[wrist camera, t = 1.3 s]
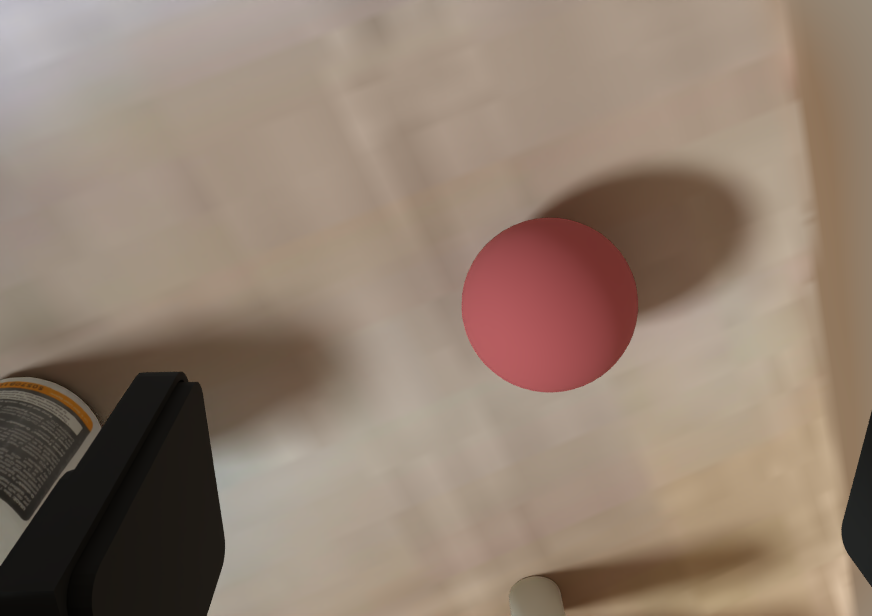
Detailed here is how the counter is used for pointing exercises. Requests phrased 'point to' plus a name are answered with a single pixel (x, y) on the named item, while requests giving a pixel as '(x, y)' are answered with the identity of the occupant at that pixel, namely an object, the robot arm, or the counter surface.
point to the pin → (536, 598)
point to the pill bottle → (36, 448)
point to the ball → (549, 305)
